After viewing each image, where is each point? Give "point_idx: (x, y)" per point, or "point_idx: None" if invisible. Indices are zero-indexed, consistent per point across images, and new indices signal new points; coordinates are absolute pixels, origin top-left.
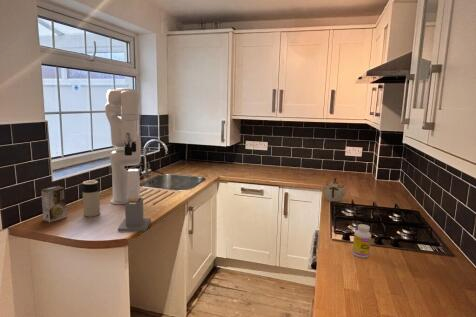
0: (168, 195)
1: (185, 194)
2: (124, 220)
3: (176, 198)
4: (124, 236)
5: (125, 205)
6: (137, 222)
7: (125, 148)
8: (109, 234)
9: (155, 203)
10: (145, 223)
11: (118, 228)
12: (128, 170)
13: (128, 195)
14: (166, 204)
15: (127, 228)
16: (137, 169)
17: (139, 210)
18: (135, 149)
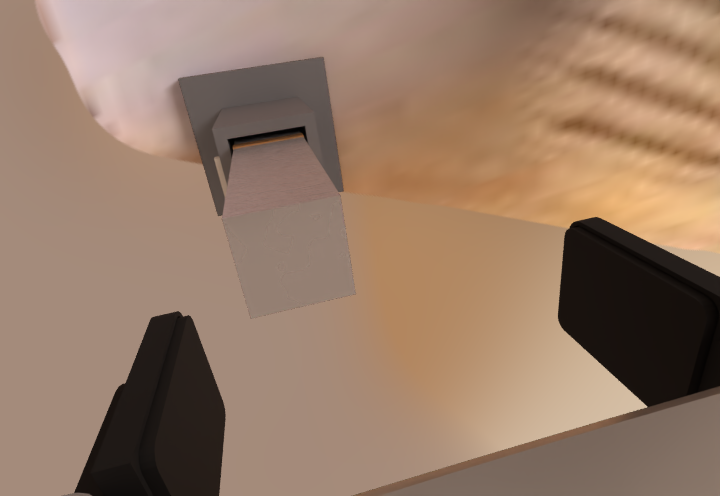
0: (688, 152)
1: (686, 226)
2: (296, 68)
3: (637, 204)
4: (134, 135)
5: (214, 126)
6: None
7: (115, 452)
8: (133, 46)
9: (578, 127)
10: None
11: (180, 81)
12: (247, 220)
13: (234, 154)
14: (559, 185)
15: (193, 129)
16: (322, 288)
17: None
18: (586, 346)
